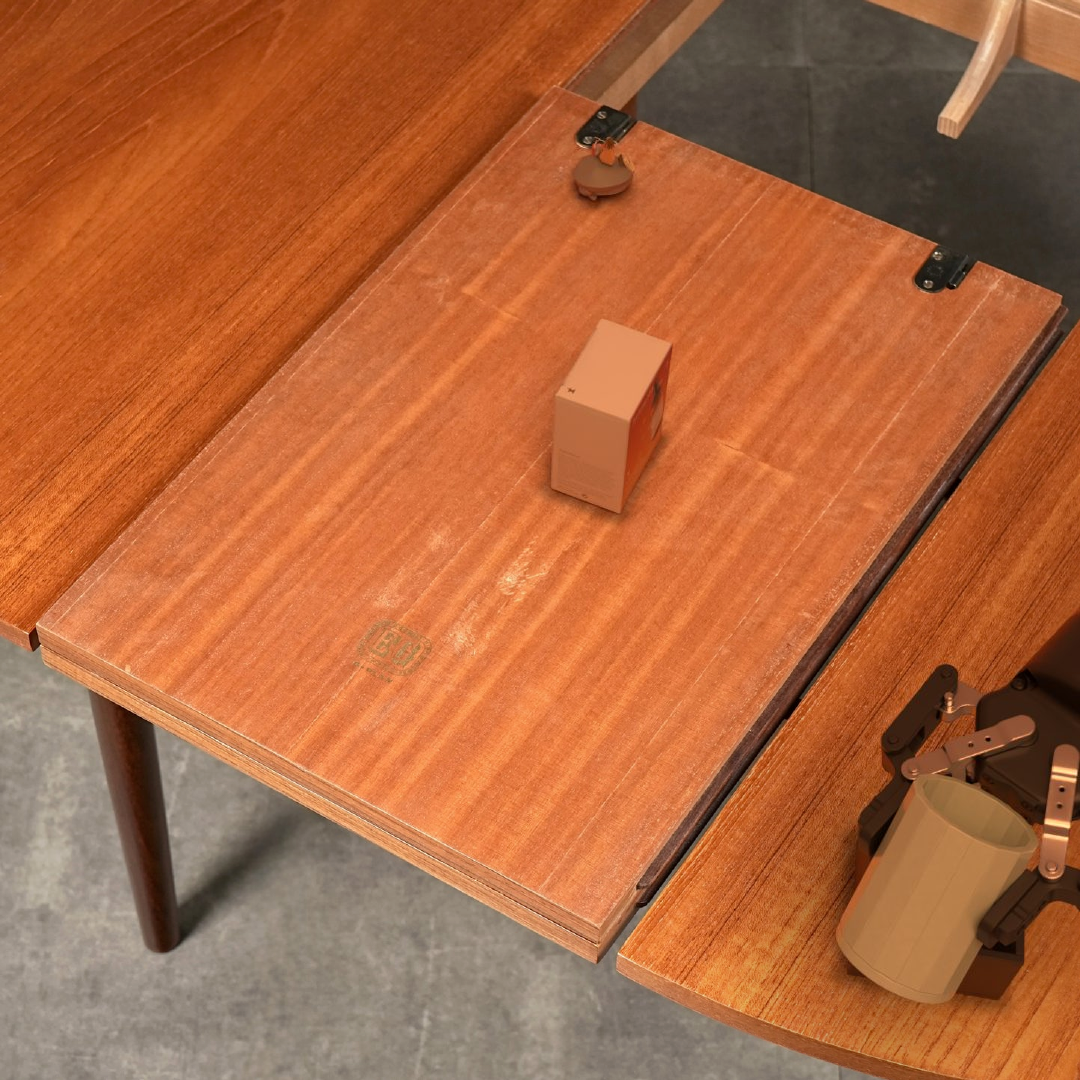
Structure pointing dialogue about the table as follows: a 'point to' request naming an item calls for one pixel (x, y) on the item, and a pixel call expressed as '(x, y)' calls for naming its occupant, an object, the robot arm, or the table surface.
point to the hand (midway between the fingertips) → (923, 890)
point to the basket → (988, 967)
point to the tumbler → (933, 887)
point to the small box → (609, 415)
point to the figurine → (603, 171)
